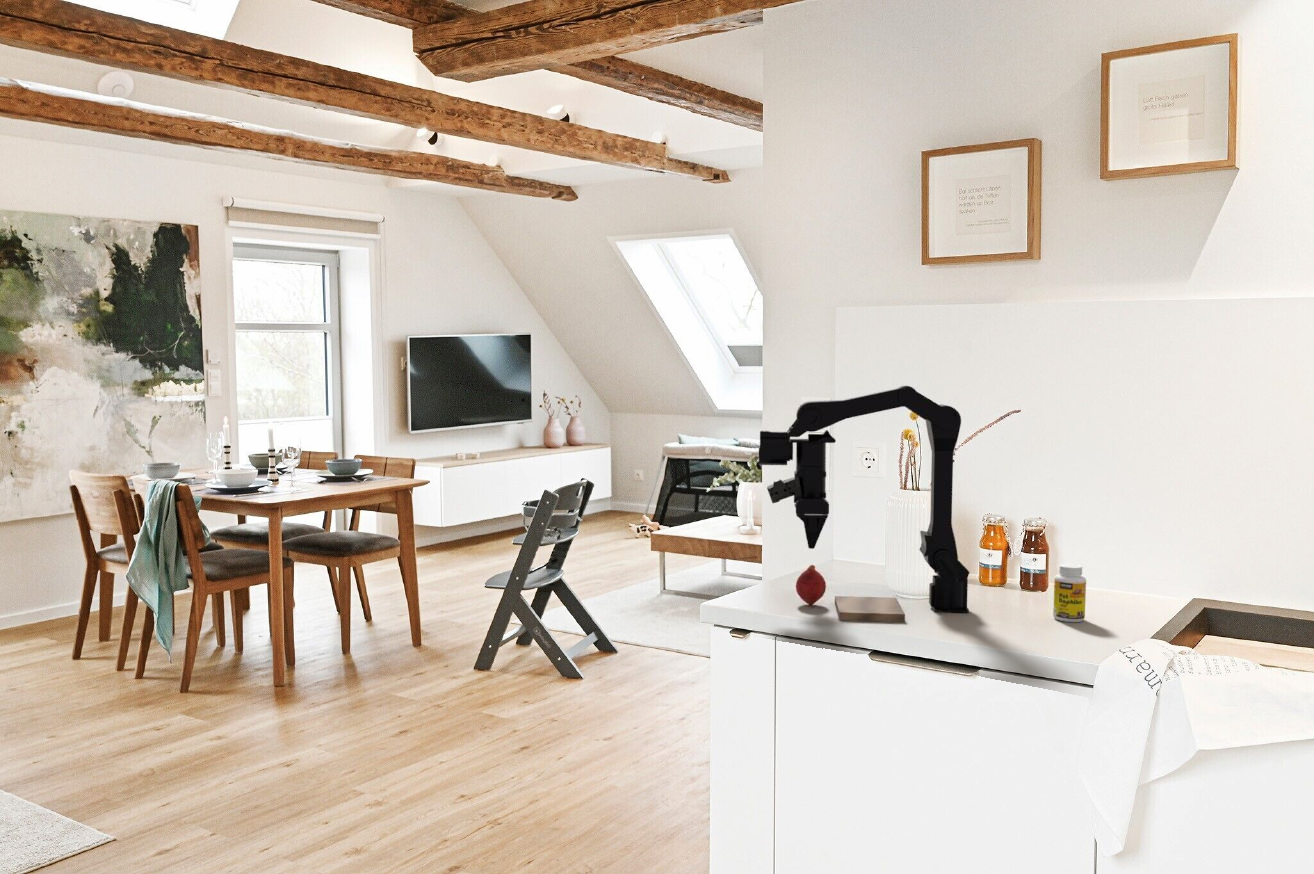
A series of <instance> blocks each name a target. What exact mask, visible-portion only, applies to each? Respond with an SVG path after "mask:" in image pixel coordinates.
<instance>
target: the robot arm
mask: <svg viewBox="0 0 1314 874" xmlns="http://www.w3.org/2000/svg"><path fill="white" fill-rule="evenodd" d="M899 408H906V409H908V410H909V411H911V412H912V413H913V414H915V415H916V416H918V417H920V418H922V419H923V420H925V424H926V431H927V437H928V441H929V444H930V449H931V450H930V451H931V470H930V471H931V473H930V475H931V477H930V479H931V481H930V517H929V518H930V521H929V525H928V529H927V531H925V530H920V531H919V532H920V540H921V543H920V547H919V552H920V553H921V554H922V555H923V556H922V557H923V558H924V560H925V562H926V563H927V564H928V566H929V567H930V568H931V569H932V570H933V572H934V573H935V574H933V575H932V582H930V583H929V584H928V585H929V589H928V593H929V594H928V597H929V598H928V604H929V606H930V607H931V608H932V610H933V611H934V612H946V613H947V612H950V613H952V612H954V613H969V612H970V609H969V608H968V588H969V585H968V584H969V580H968V579H969V575H970V570H969V569H967V568H966V566H964V565H963V563H962V562H961V561H960V560H959V555H958V548H957V542H956V538H955V534H954V530H953V525H952V524H953V522H952V521H953V520H952V519H953V518H952V517H953V481H954V480H953V478H954V476H953V475H954V473H953V472H954V451H955V449H956V445H957V443H958V439H959V435H960V431H961V427H962V426H961V424H962V417H961V414H960V412H959V411H958V410H957V409H956V408H955V407H953V406H950V405H946V404H938V403H936V402H935V401H933V400H931V399H930V398H928V397H927V396H925V395H923V394H921V393H920V392H918V390H916V388H914V387H913V386H910V385H901V386H899V387H897V388H893V389H888V390H882V391H878V392H872V393H868V394H864V395H860V396H855V397H850V398H845V399H839V400H837V399H836V400H834V399H833V400H832V399H831V400H809V401H805V402H803V403H802V404H800V405H799V407H798V408H797V410H796V415H795V417H796V419H795V421H793V423H792V424H791V426H789V427H788V430H787V431H770V430H760V431H759V446H758V466H788V462H791V461H794V444H795V443H796V454H795V455H796V458H795V460H796V461H795V464H796V465H795V470H794V473H793V474H794V476H793V477H790V478H787V479H784V480H782V479H779V480H777V481H773V484H770V485H768V486H766V489H767V492H768V494H769V498H770V500H771V503H772V504H775V503H776V504H777V503H778V502H780V501H782V500H784V499H787V498H791V497H793V504H794V507H795V515H796V517H797V518H799V520H800V521H802V523H803V528H804V532H805V533H804V534H805V539H806V542H807V547H808V549H812V550H813V549H815V548H816V546H817V542H818V541H819V538H820V535H821V532H822V530H823V528H824V526H825V524H826V521H827V519H828V516H829V514H830V504H829V501H828V500H827V492H826V478H827V470H826V469H827V468H826V467H827V465H826V463H827V461H826V459H827V456H826V455H827V451H826V450H827V447H826V446H827V444H835V443H836V441H837V440H836V438H834V436H832V435H831V434H830V432H829V430H828V429H826V430H825V431H824V432H823V433H815V432H818V431H820V430H824V429H825V428H828V427H830V426H832V425H835V424H837V423H839V422H842V421H844V420H846V419H849V418H850V419H851V418H856V417H860V416H864V415H865V416H866V415H870V414H874V413H879V412H884V411H889V410H893V409H899ZM807 432H809V433H808V434H807V438H800V437H801V436H802V435H804V434H806V433H807ZM810 432H811V433H810ZM812 432H814V433H812Z"/></svg>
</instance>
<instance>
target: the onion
mask: <svg viewBox="0 0 1314 874" xmlns="http://www.w3.org/2000/svg"><path fill="white" fill-rule="evenodd" d="M826 583H827V582H826V580H825V578H824V577H823V575H822V574H821V573H820V572H819V571H818V570H816V566H815V565H814V564H811V565H810V564H809V566H808V567H807V568H806V570H804V571H803V572H801V574H800V575H799V576H798V577H797V580H796V583H795V591H796V593H797V595H798V597H799V598H800V599H801V600H802V601H803V602H804V603H806V604H807V605H809V606H813V605H814V604H816V602H818V601H819V600H821V598H823V597H824V594H825V593H826V588H827V584H826Z"/></svg>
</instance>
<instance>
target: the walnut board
mask: <svg viewBox="0 0 1314 874" xmlns="http://www.w3.org/2000/svg"><path fill="white" fill-rule="evenodd" d="M834 606H835V610H836V613H837V617H838V621H847V622H848V621H850V622H851V621H853V622H854V621H855V622H886V623H888V622H889V623H895V622H896V623H905V621H906V613H905V611H904V609H903V608H902V606H901V603H899V601H898V599H897V597H890V596H889V597H887V596H886V597H885V596H882V597H881V596H852V595H849V596H846V595H844V596H843V595H834Z"/></svg>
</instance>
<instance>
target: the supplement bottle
mask: <svg viewBox="0 0 1314 874" xmlns="http://www.w3.org/2000/svg"><path fill="white" fill-rule="evenodd" d="M1058 573H1059V574H1056V575H1055V576H1054V585H1053V589H1054V590H1053V608H1052V609H1053V610H1052V611H1053V612H1052V613H1053V618H1054V619H1055V620H1056V621H1061V622H1064V623H1065V622H1066V623H1080V622H1083V621H1084V620H1085V617H1086V615H1085V614H1086V598H1087V596H1086V594H1087V578H1086V577H1085V576H1084V575H1083V566H1081V565H1078V564H1074V563H1073V564H1072V563H1062V564H1059V569H1058Z"/></svg>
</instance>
